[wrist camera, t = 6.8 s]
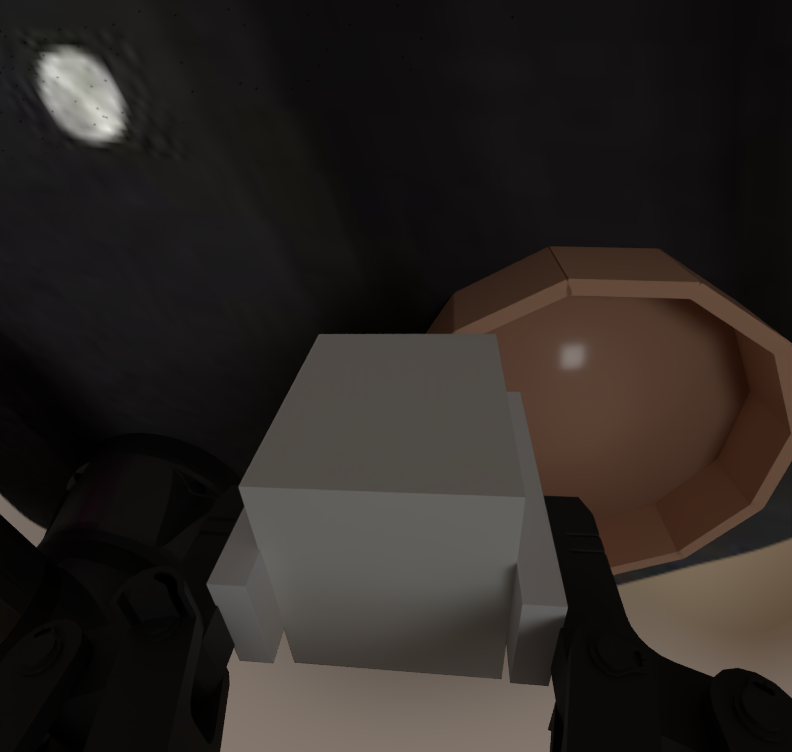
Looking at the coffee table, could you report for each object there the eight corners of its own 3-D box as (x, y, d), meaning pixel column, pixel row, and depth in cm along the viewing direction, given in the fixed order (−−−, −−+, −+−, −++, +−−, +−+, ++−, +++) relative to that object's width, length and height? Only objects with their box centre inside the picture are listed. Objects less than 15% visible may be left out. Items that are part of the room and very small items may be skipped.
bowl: (404, 509, 38) (398, 562, 33) (404, 243, 26) (395, 274, 22) (684, 529, 36) (715, 588, 31) (817, 251, 24) (894, 287, 20)
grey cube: (342, 485, 16) (294, 662, 11) (318, 333, 13) (238, 486, 8) (485, 490, 16) (501, 679, 11) (496, 333, 13) (525, 497, 8)
